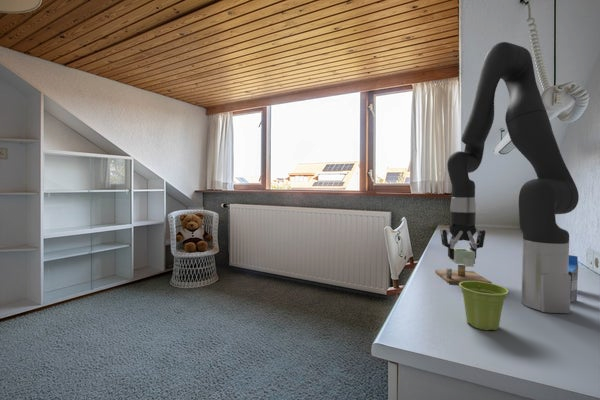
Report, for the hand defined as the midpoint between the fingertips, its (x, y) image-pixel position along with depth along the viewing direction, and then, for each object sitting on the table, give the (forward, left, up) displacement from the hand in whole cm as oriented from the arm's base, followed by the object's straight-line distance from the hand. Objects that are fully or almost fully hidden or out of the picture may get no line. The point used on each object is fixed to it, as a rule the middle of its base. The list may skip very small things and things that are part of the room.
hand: (461, 259), depth 101 cm
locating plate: (0, 0, -7) cm, 7 cm away
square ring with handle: (-2, 0, -1) cm, 2 cm away
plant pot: (-36, +10, -7) cm, 38 cm away
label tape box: (-15, -19, -7) cm, 25 cm away
